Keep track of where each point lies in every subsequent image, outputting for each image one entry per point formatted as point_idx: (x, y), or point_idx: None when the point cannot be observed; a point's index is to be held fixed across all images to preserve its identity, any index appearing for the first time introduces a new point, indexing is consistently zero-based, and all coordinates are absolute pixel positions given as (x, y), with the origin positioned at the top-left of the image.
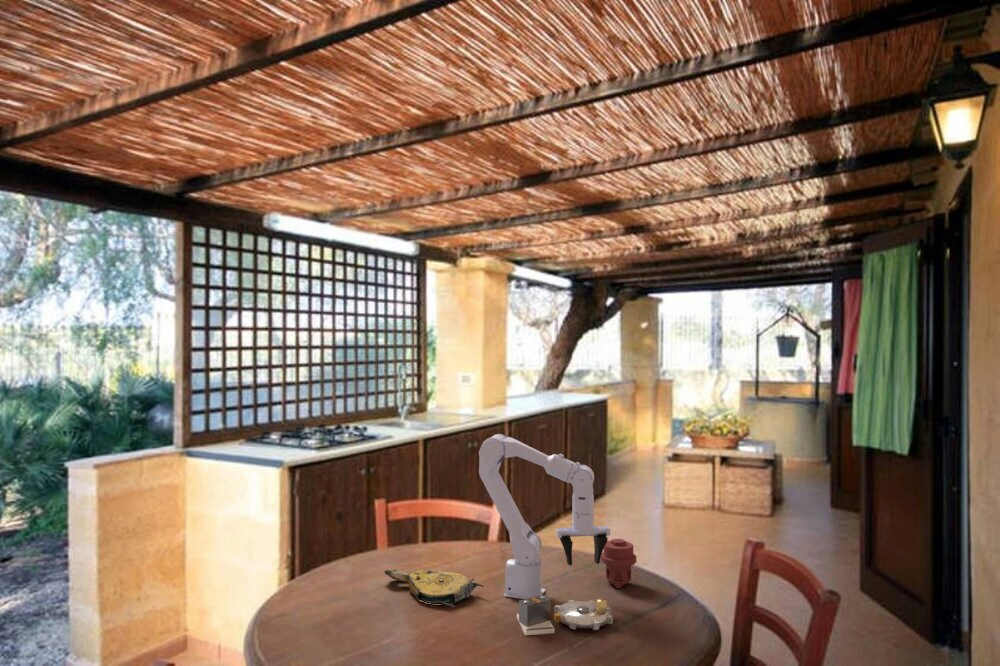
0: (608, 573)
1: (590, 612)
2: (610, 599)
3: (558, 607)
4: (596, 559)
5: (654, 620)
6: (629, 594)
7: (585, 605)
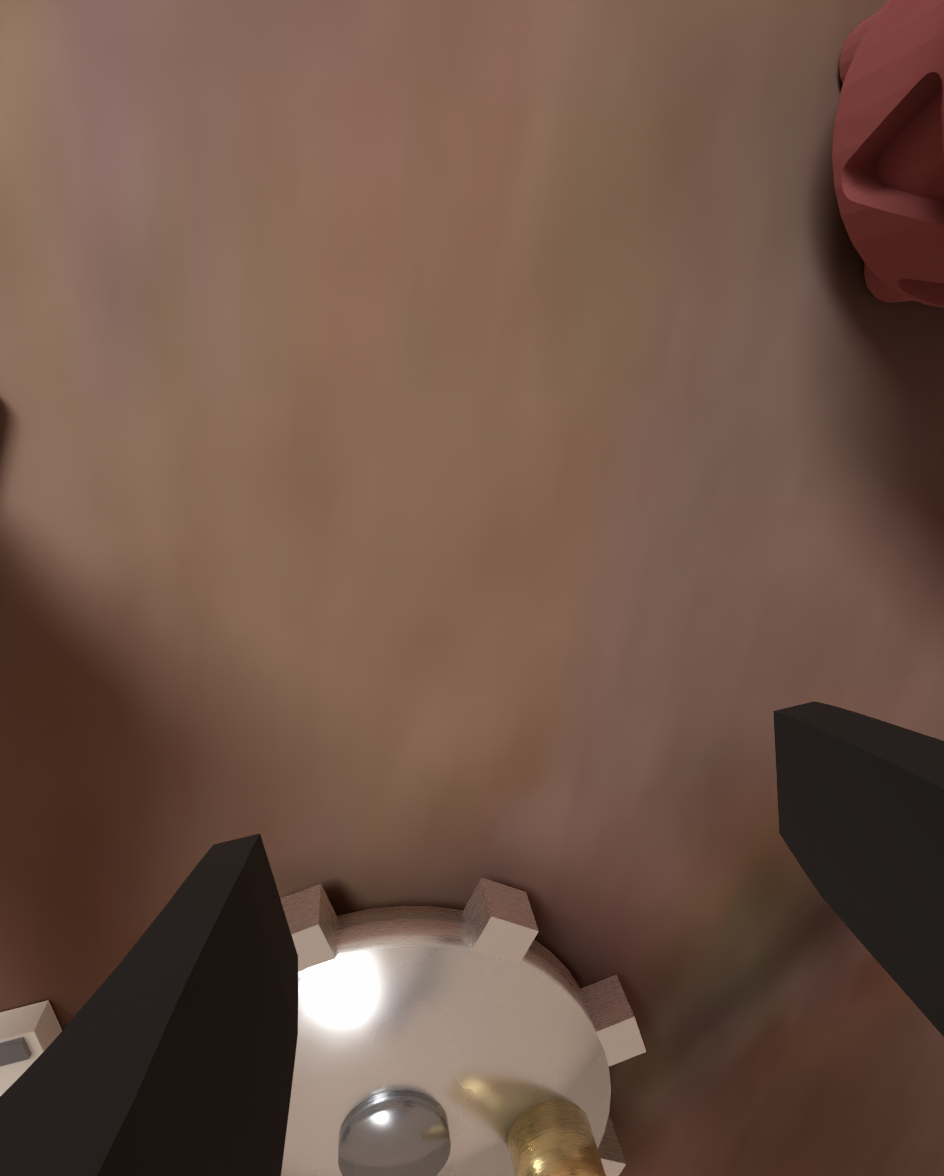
0: (908, 116)
1: (456, 1146)
2: (713, 604)
3: None
4: (818, 848)
5: None
6: (929, 469)
7: (431, 1029)
